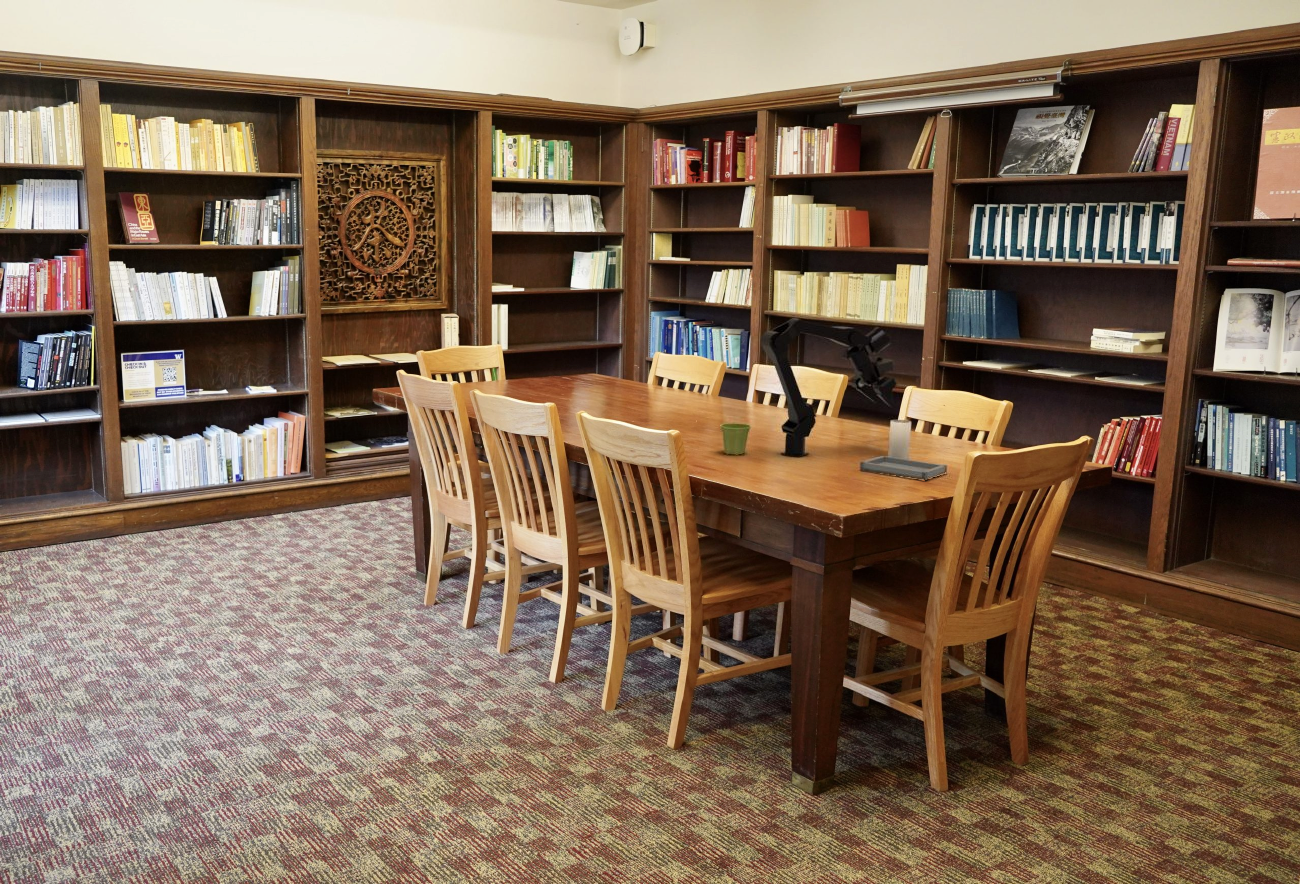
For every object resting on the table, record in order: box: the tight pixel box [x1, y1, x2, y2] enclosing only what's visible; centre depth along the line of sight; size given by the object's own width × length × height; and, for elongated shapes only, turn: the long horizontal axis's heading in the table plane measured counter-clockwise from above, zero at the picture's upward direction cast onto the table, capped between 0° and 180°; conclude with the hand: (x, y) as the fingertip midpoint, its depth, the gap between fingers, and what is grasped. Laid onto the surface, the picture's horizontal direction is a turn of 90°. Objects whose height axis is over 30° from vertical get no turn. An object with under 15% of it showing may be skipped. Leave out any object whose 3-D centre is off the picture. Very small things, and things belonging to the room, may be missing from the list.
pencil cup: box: [887, 419, 912, 460], centre depth 331 cm, size 6×6×12 cm
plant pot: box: [719, 422, 752, 455], centre depth 339 cm, size 9×9×9 cm
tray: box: [859, 455, 948, 480], centre depth 318 cm, size 14×20×2 cm
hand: (884, 404), depth 348 cm, fingers open, 9 cm apart
